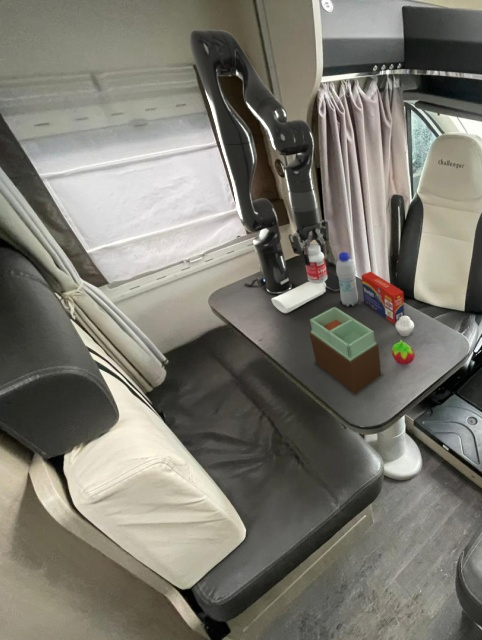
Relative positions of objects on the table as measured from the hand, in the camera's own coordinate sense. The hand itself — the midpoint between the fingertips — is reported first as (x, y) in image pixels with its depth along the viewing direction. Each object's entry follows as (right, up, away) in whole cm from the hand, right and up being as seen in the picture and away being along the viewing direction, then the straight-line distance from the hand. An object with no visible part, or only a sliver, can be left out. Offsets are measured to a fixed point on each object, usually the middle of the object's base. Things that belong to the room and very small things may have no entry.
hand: (314, 260), depth 112 cm
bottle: (+7, -10, +22) cm, 26 cm away
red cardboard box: (+20, -14, +18) cm, 30 cm away
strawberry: (+28, -33, -2) cm, 43 cm away
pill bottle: (0, -5, +5) cm, 7 cm away
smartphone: (-2, 0, +33) cm, 33 cm away
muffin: (+28, -22, +9) cm, 37 cm away
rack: (+11, -34, -4) cm, 36 cm away
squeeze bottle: (-10, -9, +24) cm, 27 cm away
